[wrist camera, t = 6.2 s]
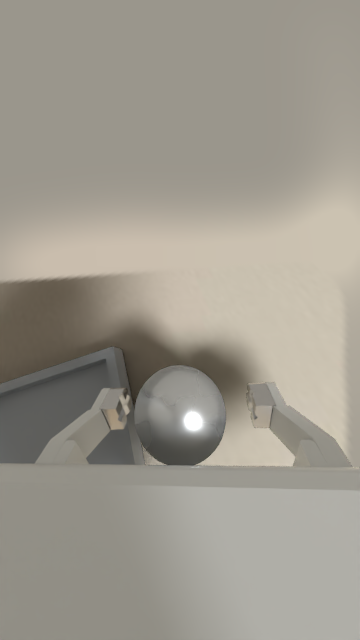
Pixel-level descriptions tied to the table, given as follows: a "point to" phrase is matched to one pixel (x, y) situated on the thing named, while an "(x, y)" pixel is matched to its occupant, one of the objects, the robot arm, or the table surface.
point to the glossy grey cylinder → (180, 415)
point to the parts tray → (65, 409)
